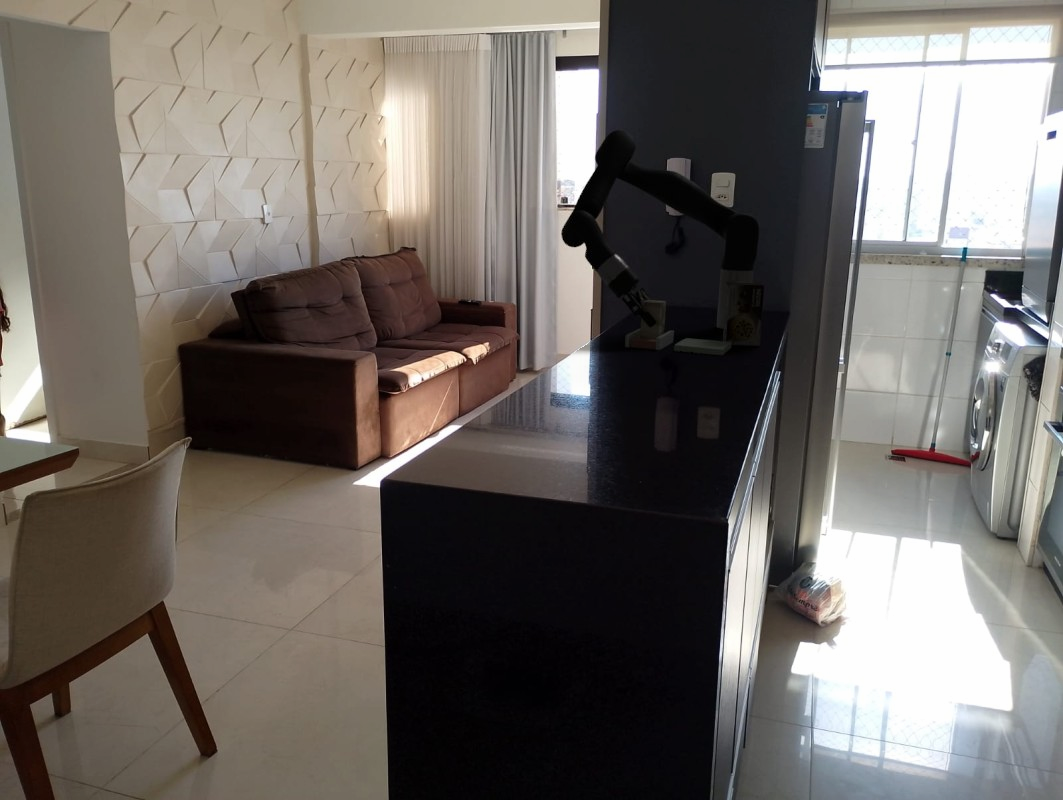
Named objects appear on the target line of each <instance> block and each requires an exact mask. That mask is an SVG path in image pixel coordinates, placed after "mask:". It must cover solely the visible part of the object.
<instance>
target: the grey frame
mask: <svg viewBox="0 0 1063 800" xmlns="http://www.w3.org/2000/svg"><path fill="white" fill-rule="evenodd" d="M640 331H641V327H640V328H638V329H636V330H634V331H632V332H629V333H628V334H625V337H624V338H625V341H624V342H625V343H624V344H625V345H624V348H634V349H635V348H636V349H637V348H638V349H645V350H647V349H648V350H656V351H661V350H662V349H664V348H665V347H668V346H669V345H671V344H673V343H674V336H675V335H674V334H675V330H671V329H670V330H668V331H666V332H664V334H663V335H661V336H659V337H657V338H656V340H655V339H644V338H640ZM660 349H661V350H660Z"/></svg>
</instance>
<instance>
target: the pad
mask: <svg viewBox="0 0 1063 800" xmlns="http://www.w3.org/2000/svg"><path fill="white" fill-rule="evenodd" d="M732 346H733V345H732V342H724V341H723V340H722V341H721V340H714V339H713V340H712V339H701V338H700V339H699V338H690V337H685V338H684V339H682V340H680V341H679V342H677V343H676V344H674V347H673V348H674V349H673V351H674V352H680V351H682V352H683V353H691V352H693V353H694V354H701V353H702V354H703V355H714V356H723V355H725V354H726V353H727V352H728V351H729V350H730V349H732ZM682 352H681V353H682ZM693 353H692V354H693Z"/></svg>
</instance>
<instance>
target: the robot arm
mask: <svg viewBox="0 0 1063 800" xmlns="http://www.w3.org/2000/svg"><path fill="white" fill-rule="evenodd" d="M633 137H634V136H632V135H631V134H630V133H629V132H627V131H625V130H621V129H616V130H613V131H610V133H608V134H607V135H606V137H605V138H604V140H603V141H602V143H601V144H600V146H599V147H598V149H597V150H596V153H595V155H594V156H595V157H594V160H595V163H596V165H597V166H596V168H595V169H594V171H593V173H592V175H591V176H590V177H589V178H588V180H587V182H586V184H585V186H584V187H583V188H582V191H581V193H580V195H579V197H578V199H577V201H576V203H575V206H574V208H573V210H572V212H571V213H570V215H569V216H568V218H567V220H566V222H565V223H564V225H563V227H562V229H561V240H562V241H563V243H564V244H565V245H566V246H568V247H569V248H570V247H571V248H578V247H581V246H582V245H585V253H584V257H585V260H586V261H587V262H588V263H589V265H590V266H591V267H592V268H593V270H595V272H596V273H597V275H598V276H599V278H600V279H601V280H602V281H603V282H604V284H605V285H606V287H608V288H609V289H610V291H611V293H612V294H614V295H615V297H616V298H617V299H620V298H621V301H622V302H623V303H624V304H625V305H626V306H627V307H628V309H629V310H630V311H631V313H632V314H633V315H634V316H636V317H639V318H640V319H641V318H642V319H643V320H644V321H645V323H646V324H647V325H648V326H649V327H653V326H654V325H655V324H656V320H655V319H654V318H653V317H652V316H651V314H650V313H649V312H646V311H647V309H646V307H645V302H644V301H646V300H654V298H653V297H652V296H651V295H650V294H649V293H648V291H647V290H646V289H645V288H644V287H641V288H639V287H638V286H637V285H638V284H639V283H640V277H639V276H638V275H637V274H636V273H635V271H633V269H631V267H630V266H629V265H628V264H627V262H626V261H625V260H624V259H623V258H622V257H621V256H620V255H618V253H617V252H616V250H614V249H613V248H612V247H611V245H610V244H609V243H608V242H607V240H606V237H605V235H604V232H603V231H602V229H601V228H600V225H599V223H598V222H597V220H596V219H597V218H599V216H600V215H601V212H602V210H603V208H604V206H605V204H606V203H607V200H608V198H609V196H610V193H611V191H612V188H613V186H614V184H615V182H616V180H617V179H618V180H620V181H622V182H625V183H627V184H629V185H631V186H633V187H635V188H637V189H639V190H641V191H642V192H644V193H646V194H648V195H649V196H651V197H653V198H654V199H657V201H660V202H661V203H663V205H664V204H665V205H666V207H667V206H668V207H669V208H671V209H673V210H674V211H676V212H678V213H679V214H681V215H683V216H685V217H688V218H690V219H693V220H694V221H697V222H699V223H702V224H703V225H705V226H707V228H709V229H710V230H712V231H713V232H715V234H717V235H719V236H720V237H721V238H722V239H724V240H725V246H724V254H723V258H722V259H721V264H720V277H719V278H720V279H719V288H718V289H719V292H718V302H717V315H716V328H718V329H721V330H724V317H725V303H726V289H727V282H753V278H754V267H755V263H756V259H757V254H758V248H759V247H758V246H759V240H760V239H759V236H760V226H759V223H758V220H757V219H756V217H754V216H753V215H751V214H749V213H744V212H740V211H739V212H738V211H737V210H734V209H732V208H731V207H728V206H726V205H724V204H722V203H720V202H719V201H717V200H715V198H713V197H712V196H711V195H710V194H709V193H707V192H706V191H705V190H704V189H703V188H702V187H701V186H699V185H698V184H696V183H695V182H694V181H692V180H691V179H689V178H687V177H686V176H684V175H682V174H681V173H679V172H676V171H673V170H668V169H656V168H649V167H645V166H642V165H640V164H638V163H635V162H634V161H632V158H633V156H634V155H635V153H636V145H637V144H636V141H635V139H634V138H633Z"/></svg>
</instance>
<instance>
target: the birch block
mask: <svg viewBox="0 0 1063 800" xmlns="http://www.w3.org/2000/svg"><path fill="white" fill-rule="evenodd" d="M644 302H645V307H646V309H647V311H646V312H649V313H650V314H651V316H652V317H653V318H654V319H655V320H656V324H655V325H654V326H653V327H649V326H648V325H647V324H646V323H645V321H644V320H643V319H642V318H641V317H640V328H641V331H640V338H644V339H655V340H656V338H657V337H659V336H661V335H663V334H665V325H666V324H665V323H666V310H667V309H666V307H667V301H666V300H655V299H653V300H646V301H644Z"/></svg>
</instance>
